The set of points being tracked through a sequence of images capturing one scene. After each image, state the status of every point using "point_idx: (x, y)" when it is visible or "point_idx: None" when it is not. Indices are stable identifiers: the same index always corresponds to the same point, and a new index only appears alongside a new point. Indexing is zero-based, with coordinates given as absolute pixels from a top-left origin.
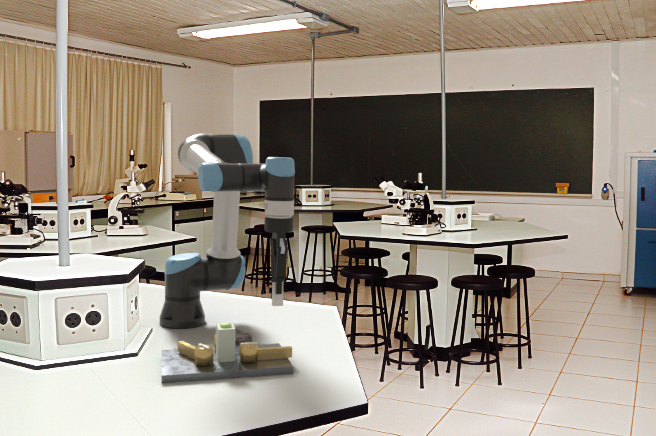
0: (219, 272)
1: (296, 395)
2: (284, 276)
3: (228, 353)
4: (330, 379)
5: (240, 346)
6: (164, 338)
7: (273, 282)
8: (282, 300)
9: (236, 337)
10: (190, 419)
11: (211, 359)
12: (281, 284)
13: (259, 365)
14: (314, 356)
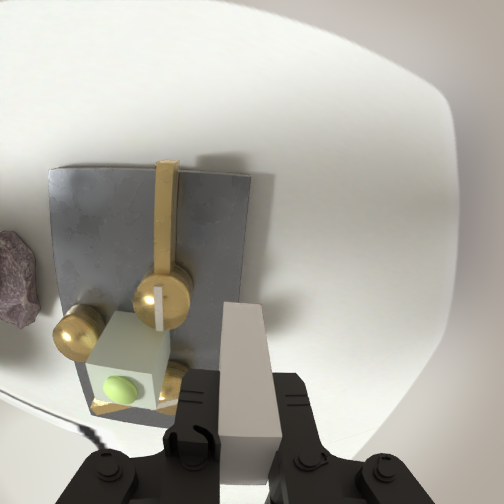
0: None
1: (381, 212)
2: (415, 490)
3: (165, 343)
4: (319, 92)
5: (168, 329)
6: (8, 377)
7: (266, 480)
8: (262, 327)
9: (25, 284)
10: (381, 391)
11: (184, 373)
12: (318, 436)
13: (215, 266)
14: (129, 77)
